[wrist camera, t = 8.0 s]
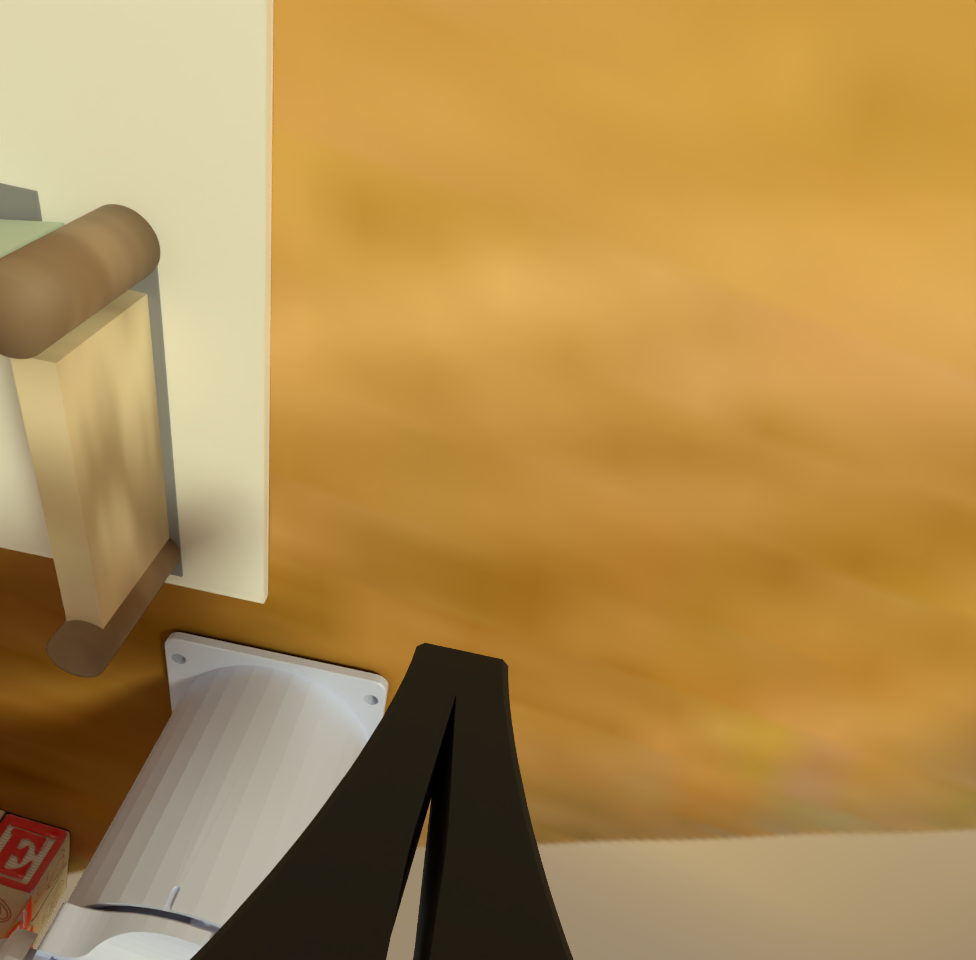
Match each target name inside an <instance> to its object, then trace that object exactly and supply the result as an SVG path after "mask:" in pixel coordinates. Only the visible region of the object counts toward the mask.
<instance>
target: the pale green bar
mask: <svg viewBox="0 0 976 960" xmlns="http://www.w3.org/2000/svg"><path fill="white" fill-rule="evenodd" d="M64 225H65V224H64V222H44V221H25V220H5V219H0V258H2V257H4V256H6V255H7V254H9V253H11V252H13V251H15V250H17V249H19V248H21V247H23V246H25V245H27V244H29V243H31V242H33V241H35V240H37V239H39V238H41V237H43V236H44V235H46V234H48V233H50V232H52V231H54V230H56V229H58V228H60V227H62V226H64Z"/></svg>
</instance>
